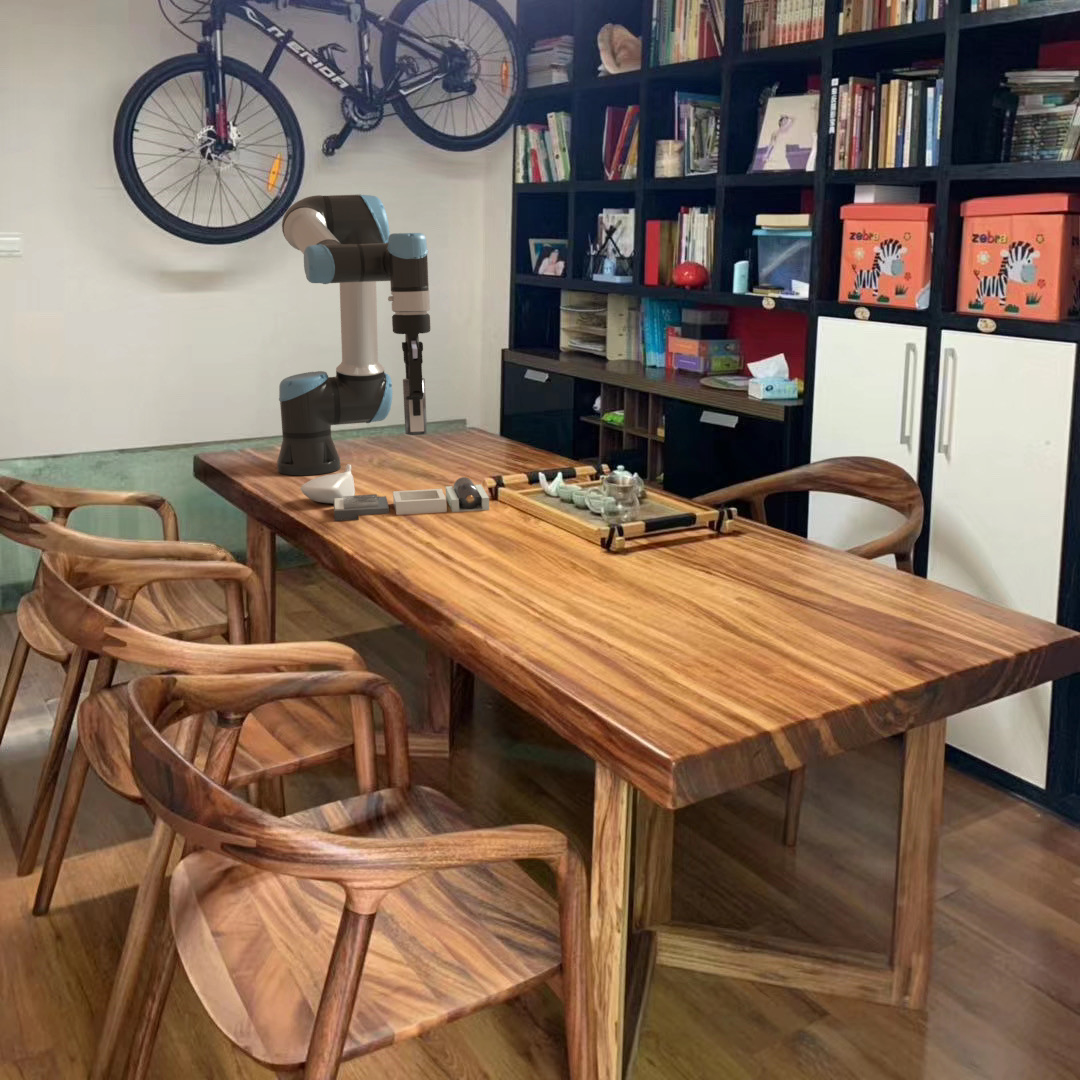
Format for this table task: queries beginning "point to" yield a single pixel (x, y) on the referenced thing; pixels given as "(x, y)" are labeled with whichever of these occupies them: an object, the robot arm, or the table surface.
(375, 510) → the grey square base pad
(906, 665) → the table surface
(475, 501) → the cell
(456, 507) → the trough
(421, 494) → the white square tray
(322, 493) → the white rounded lump
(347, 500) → the plate
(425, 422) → the cell
